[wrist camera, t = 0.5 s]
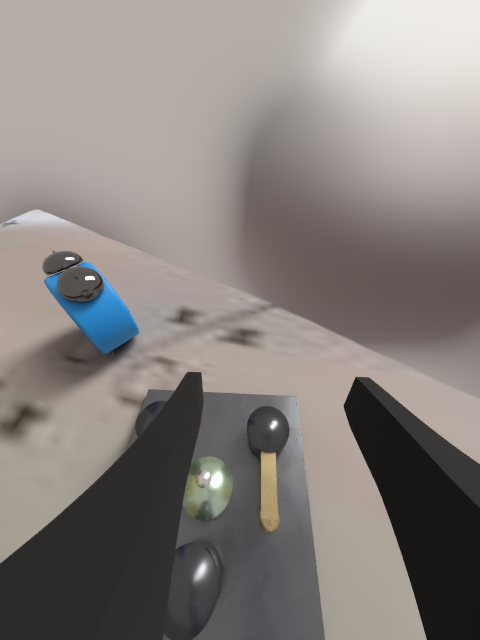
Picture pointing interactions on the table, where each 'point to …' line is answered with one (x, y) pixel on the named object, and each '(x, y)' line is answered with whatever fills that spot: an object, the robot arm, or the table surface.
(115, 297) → the alarm clock
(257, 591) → the dark grey square plate
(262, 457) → the knob
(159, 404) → the knob
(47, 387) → the table surface
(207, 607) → the knob
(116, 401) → the table surface
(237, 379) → the table surface
